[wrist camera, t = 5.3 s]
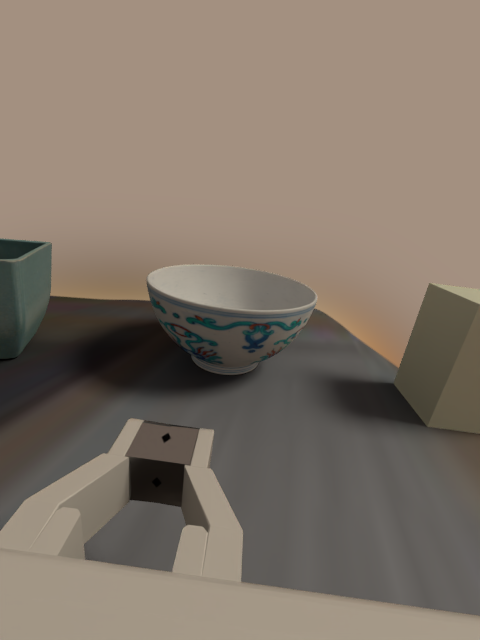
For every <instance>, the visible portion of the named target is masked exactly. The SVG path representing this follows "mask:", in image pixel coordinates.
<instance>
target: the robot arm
mask: <svg viewBox="0 0 480 640" xmlns="http://www.w3.org/2000/svg"><path fill="white" fill-rule="evenodd" d="M213 438H214V430H210V429H202V428H193V427H186V426H178V425H170V424H164V423H158V422H152V421H146V420H145V421H144V420H138V419H133V418H130V419H129V420H128V421H127V422H126V424H125V426H124V427H123V429H122V430H121V432H120V434H119V435H118V437H117V439H116V440H115V442H114V444H113V445H112V447H111V449H110V450H109V452H108V453H107V454H101V455H99V456H98V457H96V458H94V459H93V460H91V461H89V462H88V463H86V464H84V465H83V466H81V467H79V468H78V469H76V470H74V471H73V472H71V473H69V474H68V475H66V476H64V477H63V478H61V479H59V480H58V481H56V482H54V483H53V484H51V485H49V486H48V487H46V488H44V489H43V490H41V491H39V492H38V493H36V494H34V495H33V496H31V497H29V498H28V499H26V500H25V501H24V502H23V503H22V505H21V506H20V507H19V508H18V510H17V511H16V512H15V514H14V515H13V516H12V517H11V519H10V520H9V521H8V522H7V524H6V525H5V526H4V527H3V529H2V530H1V531H0V640H480V616H477V615H470V614H463V613H456V612H449V611H442V610H435V609H428V608H421V607H414V606H407V605H400V604H393V603H386V602H379V601H372V600H365V599H358V598H351V597H344V596H337V595H330V594H323V593H316V592H309V591H302V590H295V589H288V588H281V587H274V586H267V585H260V584H253V583H246V582H241V568H242V544H243V530H242V528H241V526H240V524H239V522H238V520H237V518H236V517H235V515H234V513H233V511H232V509H231V507H230V505H229V503H228V501H227V499H226V497H225V495H224V493H223V491H222V489H221V487H220V485H219V483H218V481H217V479H216V477H215V475H214V473H213V471H212V469H210V461H211V454H212V446H213ZM129 500H136V501H145V502H154V503H160V504H166V505H172V506H178V507H181V509H182V512H183V516H184V519H185V523H186V527H185V528H183V530H182V534H181V538H180V542H179V546H178V550H177V554H176V558H175V562H174V566H173V570H172V572H168V571H161V570H154V569H147V568H140V567H132V566H125V565H118V564H111V563H104V562H97V561H90V560H85V553H84V544H85V543H86V542H87V541H88V540H89V539H90V538H91V537H92V536H93V535H94V534H95V533H96V532H98V531H99V530H100V529H101V528H102V527H103V526H104V525H105V524H106V523H107V522H108V521H109V520H110V519H111V518H112V517H114V516H115V515H116V514H117V513H118V512H119V511H120V510H121V509H122V508H123V507H124V506H125V505H126V504H127V503H128V502H129Z"/></svg>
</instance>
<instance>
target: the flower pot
mask: <svg viewBox="0 0 480 640" xmlns="http://www.w3.org/2000/svg"><path fill="white" fill-rule="evenodd" d="M51 249H52V244H51V243H50V242H38V241H26V240H11V239H0V359H7V358H15V357H17V356H19V355H20V353H21V352H22V351H23V349H24V348H25V346H26V345H27V344H28V342H29V341H30V340H31V339H32V337H33V336H34V335H35V333H36V331H37V329H38V327H39V325H40V323H41V321H42V319H43V317H44V315H45V312H46V309H47V306H48V302H49V298H50V290H51Z"/></svg>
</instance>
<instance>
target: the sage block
mask: <svg viewBox="0 0 480 640" xmlns="http://www.w3.org/2000/svg"><path fill="white" fill-rule="evenodd" d="M394 385H395V386H396V387H397V389H398V390H399V391H400V393H401V394H402V395H403V396H404V398H405V399H406V400H407V401H408V403H409V404H410V405H411V407H412V408H413V409H414V410H415V412H416V413H417V414H418V416H419V417H420V418H421V419H422V421H423V422H424V423H425V424H426V426H427V427H433V428H441V429H448V430H456V431H463V432H471V433H478V434H480V289H473V288H465V287H457V286H449V285H441V284H433V283H429V286H428V288H427V291H426V294H425V297H424V300H423V302H422V305H421V308H420V311H419V314H418V316H417V319H416V322H415V325H414V328H413V330H412V333H411V336H410V339H409V342H408V345H407V347H406V350H405V353H404V356H403V358H402V361H401V364H400V367H399V370H398V372H397V375H396V378H395V381H394Z"/></svg>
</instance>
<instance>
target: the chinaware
mask: <svg viewBox="0 0 480 640" xmlns="http://www.w3.org/2000/svg"><path fill="white" fill-rule="evenodd" d="M147 287H148V292H149V296H150V300H151V303H152V306H153V309H154V312H155V314H156V316H157V318H158V320H159V322H160V324H161V326H162V327H163V329H164V330H165V332H166V333H167V334H168V336H169V337H170V338H171V339H172V340H173V341H174V342H175V343H176V344H177V345H178V346H179V347H181V348H182V349H183V350H184V351H186V352H187V353H189V354H190V355H191V357H192V360H193V361H194V363H195V364H196V365H198V366H199V367H201V368H202V369H204V370H207V371H209V372H213V373H217V374H223V375H237V374H243V373H247V372H249V371H251V370H253V369H254V368H255V367H256V366H257V365H258V363H259V362H261V361H263V360H266V359H268V358H270V357H272V356H274V355H275V354H277V353H279V352H280V351H282V350H283V349H284V348H285V347H287V346H288V345H289V344H290V343H291V342H292V341H293V340H294V339H295V338H296V337H297V336H298V334H299V333H300V332H301V330H302V329H303V327H304V326H305V324H306V323H307V321H308V319H309V317H310V315H311V313H312V311H313V309H314V307H315V305H316V302H317V294H316V293H315V291H314V290H313V289H311V288H310V287H308V286H307V285H305V284H303V283H301V282H298V281H296V280H293V279H291V278H288V277H285V276H281V275H278V274H273V273H269V272H265V271H260V270H255V269H249V268H242V267H234V266H223V265H207V264H204V265H203V264H190V265H176V266H170V267H164V268H161V269H157V270H155V271H153V272H151V273H150V274H149V275H148V276H147Z"/></svg>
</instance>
